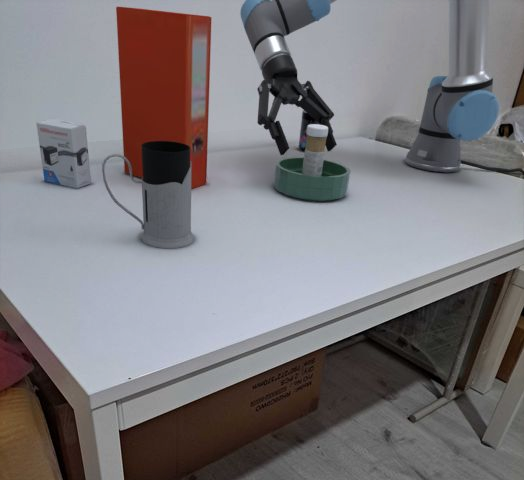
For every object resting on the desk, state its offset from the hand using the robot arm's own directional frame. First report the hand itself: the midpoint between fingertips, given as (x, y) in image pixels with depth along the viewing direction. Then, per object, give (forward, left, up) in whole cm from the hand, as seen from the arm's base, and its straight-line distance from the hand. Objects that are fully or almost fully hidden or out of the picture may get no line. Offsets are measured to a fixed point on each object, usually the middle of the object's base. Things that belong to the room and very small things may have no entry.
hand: (309, 150), depth 117 cm
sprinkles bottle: (0, +2, -8) cm, 8 cm away
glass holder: (+40, +26, -9) cm, 48 cm away
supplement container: (-17, -37, -9) cm, 42 cm away
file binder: (+31, -9, -9) cm, 33 cm away
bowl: (0, +2, -9) cm, 9 cm away
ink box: (+52, -7, -9) cm, 53 cm away
